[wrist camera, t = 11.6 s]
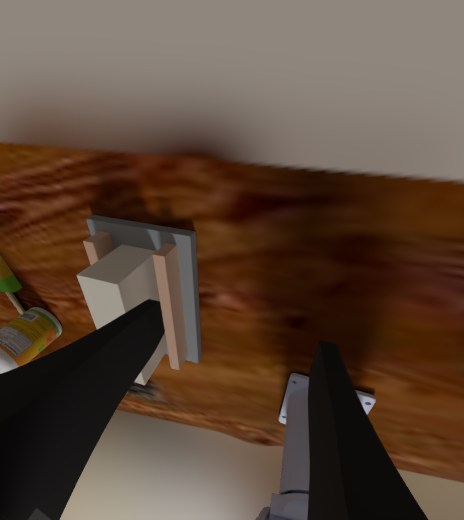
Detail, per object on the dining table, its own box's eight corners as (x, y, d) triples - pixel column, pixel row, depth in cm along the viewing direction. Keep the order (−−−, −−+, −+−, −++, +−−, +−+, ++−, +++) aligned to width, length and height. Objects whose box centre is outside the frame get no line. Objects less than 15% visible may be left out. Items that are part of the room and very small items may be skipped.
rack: (201, 356, 28) (190, 379, 26) (128, 335, 30) (111, 354, 28) (195, 231, 20) (178, 247, 17) (94, 214, 22) (66, 227, 20)
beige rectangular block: (170, 344, 27) (144, 385, 23) (143, 336, 28) (113, 374, 24) (156, 251, 21) (117, 284, 17) (122, 244, 22) (76, 274, 17)
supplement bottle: (55, 337, 37) (-18, 399, 29) (26, 312, 35) (-58, 370, 27) (69, 328, 34) (-7, 393, 26) (38, 300, 33) (-51, 360, 25)
